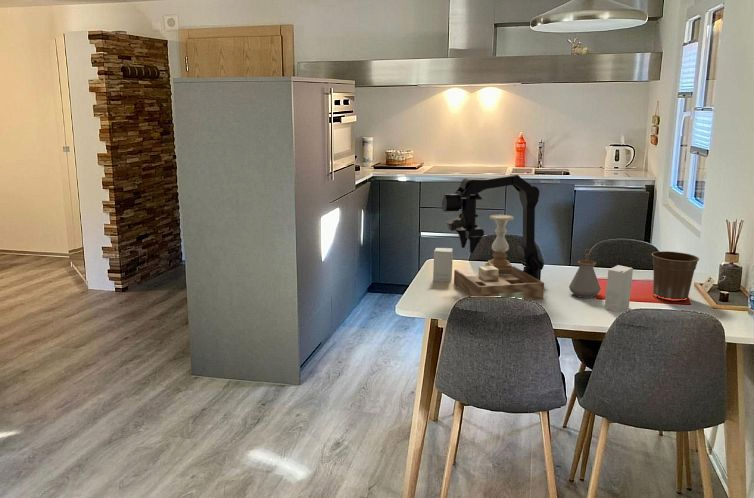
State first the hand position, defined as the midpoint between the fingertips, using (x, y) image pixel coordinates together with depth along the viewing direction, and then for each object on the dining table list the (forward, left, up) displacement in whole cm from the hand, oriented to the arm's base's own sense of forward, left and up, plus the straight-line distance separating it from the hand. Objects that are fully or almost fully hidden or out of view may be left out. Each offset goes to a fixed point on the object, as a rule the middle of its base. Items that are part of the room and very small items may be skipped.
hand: (467, 250), depth 262 cm
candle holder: (-23, -21, -15) cm, 35 cm away
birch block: (-9, 0, -12) cm, 15 cm away
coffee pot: (-42, +17, -15) cm, 48 cm away
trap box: (-9, +9, -15) cm, 20 cm away
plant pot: (-70, +31, -15) cm, 78 cm away
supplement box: (+6, -12, -15) cm, 20 cm away
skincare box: (-42, +39, -15) cm, 59 cm away
